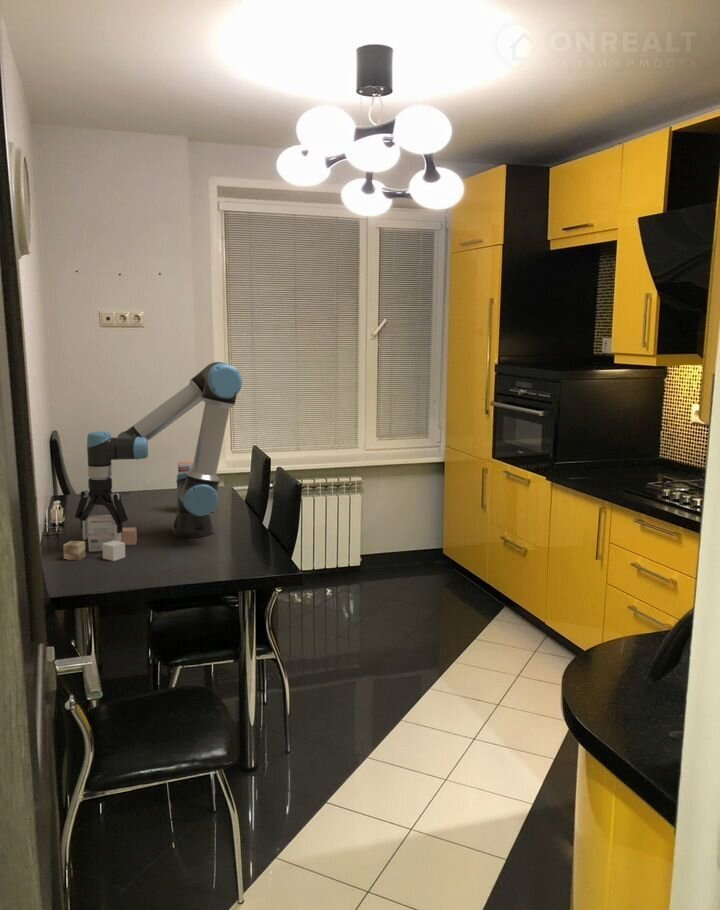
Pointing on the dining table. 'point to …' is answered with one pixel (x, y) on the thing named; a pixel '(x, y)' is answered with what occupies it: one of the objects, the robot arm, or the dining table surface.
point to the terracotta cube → (129, 536)
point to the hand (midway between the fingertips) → (101, 540)
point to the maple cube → (74, 550)
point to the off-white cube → (113, 550)
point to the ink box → (100, 531)
